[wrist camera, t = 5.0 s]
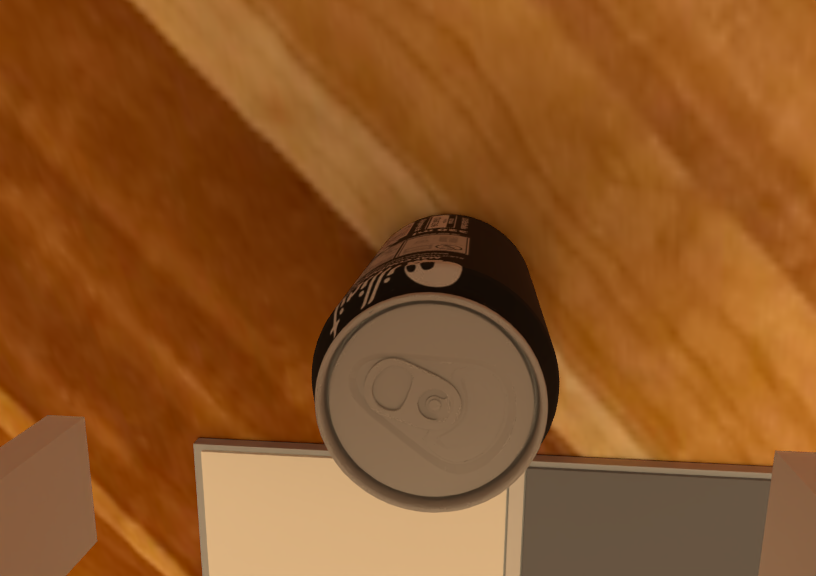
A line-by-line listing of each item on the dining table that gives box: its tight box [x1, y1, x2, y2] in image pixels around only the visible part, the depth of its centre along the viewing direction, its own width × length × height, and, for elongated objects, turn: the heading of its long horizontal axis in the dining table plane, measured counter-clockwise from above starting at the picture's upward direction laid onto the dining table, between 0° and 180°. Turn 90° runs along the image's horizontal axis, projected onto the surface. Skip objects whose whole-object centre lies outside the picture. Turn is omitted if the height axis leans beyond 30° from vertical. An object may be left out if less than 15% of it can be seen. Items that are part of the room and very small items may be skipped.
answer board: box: [193, 438, 773, 576], centre depth 31 cm, size 8×28×1 cm, turn 90°
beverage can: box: [312, 215, 559, 513], centre depth 23 cm, size 7×7×12 cm
